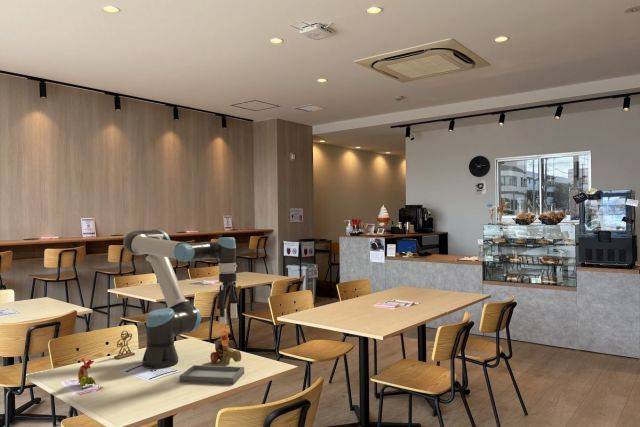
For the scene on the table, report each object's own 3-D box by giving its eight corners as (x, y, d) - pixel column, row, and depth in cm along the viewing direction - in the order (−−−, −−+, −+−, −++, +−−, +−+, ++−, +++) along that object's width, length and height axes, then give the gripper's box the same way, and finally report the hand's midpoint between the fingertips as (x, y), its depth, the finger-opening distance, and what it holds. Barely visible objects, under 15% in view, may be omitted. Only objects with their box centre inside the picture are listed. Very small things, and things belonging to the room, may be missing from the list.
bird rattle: (72, 392, 186) (82, 387, 181) (67, 363, 189) (77, 358, 184) (89, 388, 191) (99, 383, 186) (83, 360, 194) (93, 354, 189)
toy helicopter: (225, 358, 223) (225, 328, 224) (248, 369, 207) (248, 336, 207) (208, 361, 218) (208, 331, 218) (231, 372, 202) (231, 339, 202)
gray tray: (179, 382, 191) (179, 375, 191) (193, 371, 205) (193, 365, 205) (233, 384, 188) (233, 378, 188) (244, 373, 202) (244, 367, 202)
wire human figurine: (118, 359, 222) (118, 333, 222) (113, 358, 224) (113, 332, 224) (135, 354, 230) (135, 329, 230) (129, 353, 232) (129, 328, 232)
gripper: (225, 275, 200) (226, 327, 200) (244, 269, 225) (245, 315, 225) (208, 275, 202) (209, 327, 201) (229, 269, 226) (230, 315, 226)
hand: (228, 321), depth 213 cm, fingers open, 13 cm apart
